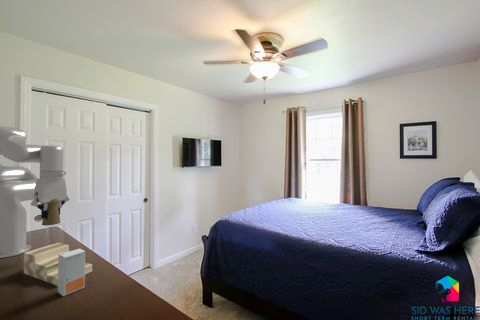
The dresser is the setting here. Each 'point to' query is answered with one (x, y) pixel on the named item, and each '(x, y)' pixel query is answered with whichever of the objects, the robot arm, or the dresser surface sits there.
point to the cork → (52, 213)
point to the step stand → (47, 262)
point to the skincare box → (71, 271)
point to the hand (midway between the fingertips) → (50, 218)
